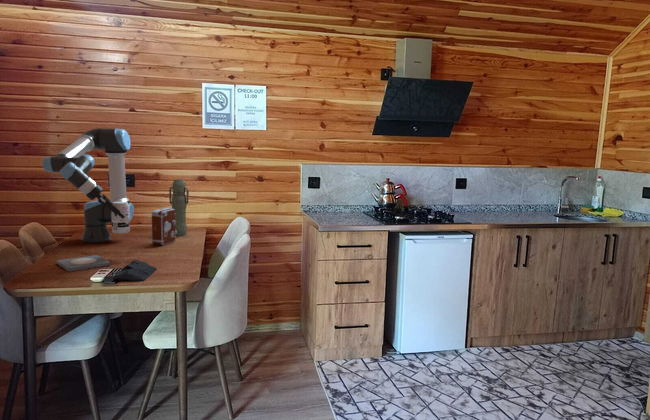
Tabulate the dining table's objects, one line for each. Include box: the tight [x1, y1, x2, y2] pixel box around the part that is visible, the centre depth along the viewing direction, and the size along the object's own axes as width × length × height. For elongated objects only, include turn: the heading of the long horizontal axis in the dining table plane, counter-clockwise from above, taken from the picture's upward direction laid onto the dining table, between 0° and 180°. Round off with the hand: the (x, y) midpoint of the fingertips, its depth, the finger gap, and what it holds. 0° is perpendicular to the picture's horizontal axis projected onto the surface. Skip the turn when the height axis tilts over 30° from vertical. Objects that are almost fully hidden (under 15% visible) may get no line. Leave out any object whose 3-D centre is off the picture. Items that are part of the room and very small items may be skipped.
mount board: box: [56, 254, 111, 272], centre depth 223 cm, size 18×18×2 cm
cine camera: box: [151, 207, 177, 246], centre depth 275 cm, size 9×19×20 cm, turn 166°
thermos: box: [168, 178, 190, 237], centre depth 297 cm, size 9×12×35 cm
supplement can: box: [111, 202, 131, 235], centre depth 235 cm, size 8×8×15 cm
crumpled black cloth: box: [113, 259, 157, 282], centre depth 209 cm, size 15×22×5 cm
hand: (127, 220), depth 237 cm, fingers closed on supplement can, 8 cm apart
